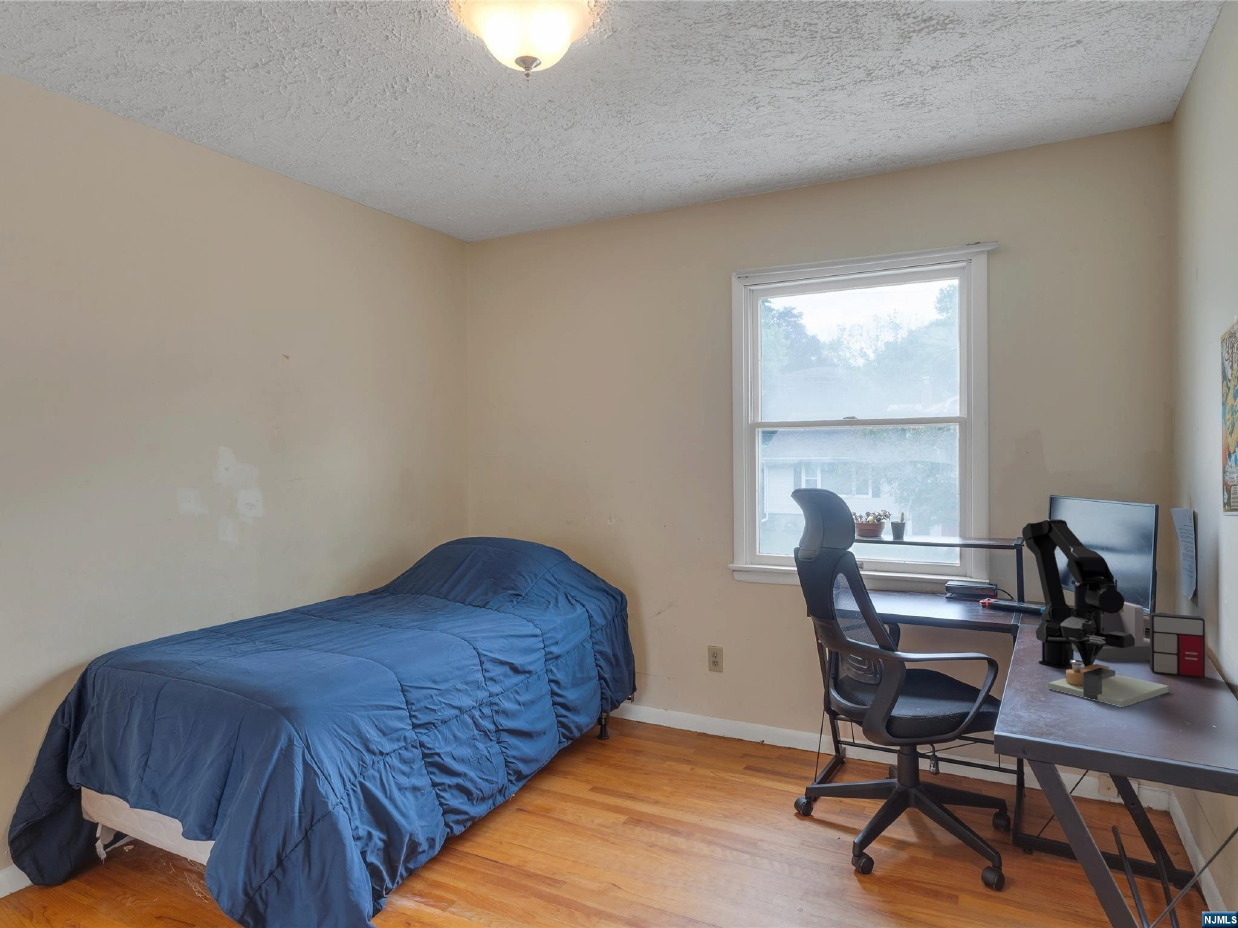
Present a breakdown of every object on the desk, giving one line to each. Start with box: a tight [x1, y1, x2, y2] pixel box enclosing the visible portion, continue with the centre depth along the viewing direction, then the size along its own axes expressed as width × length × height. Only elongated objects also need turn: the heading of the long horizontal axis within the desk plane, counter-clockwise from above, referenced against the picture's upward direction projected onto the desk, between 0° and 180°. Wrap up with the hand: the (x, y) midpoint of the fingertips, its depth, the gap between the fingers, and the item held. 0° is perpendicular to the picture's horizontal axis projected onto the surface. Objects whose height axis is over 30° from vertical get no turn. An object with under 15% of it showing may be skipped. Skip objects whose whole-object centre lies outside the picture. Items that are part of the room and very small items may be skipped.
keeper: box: [1070, 659, 1116, 702], centre depth 173 cm, size 8×8×7 cm
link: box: [1065, 663, 1110, 685], centre depth 178 cm, size 14×4×2 cm, turn 121°
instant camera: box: [1072, 601, 1150, 662], centre depth 213 cm, size 21×21×15 cm
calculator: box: [1149, 612, 1206, 679], centre depth 190 cm, size 11×4×15 cm, turn 62°
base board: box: [1047, 673, 1169, 708], centre depth 176 cm, size 16×22×2 cm
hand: (1087, 668), depth 184 cm, fingers closed
